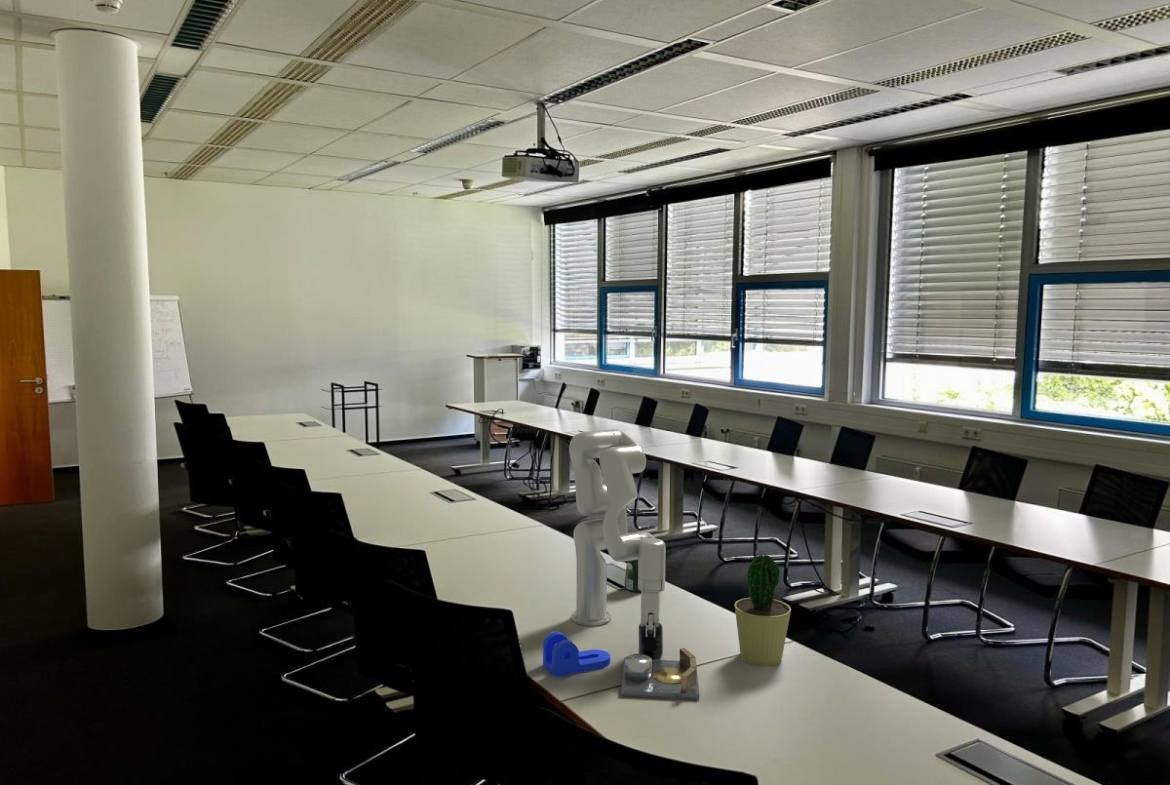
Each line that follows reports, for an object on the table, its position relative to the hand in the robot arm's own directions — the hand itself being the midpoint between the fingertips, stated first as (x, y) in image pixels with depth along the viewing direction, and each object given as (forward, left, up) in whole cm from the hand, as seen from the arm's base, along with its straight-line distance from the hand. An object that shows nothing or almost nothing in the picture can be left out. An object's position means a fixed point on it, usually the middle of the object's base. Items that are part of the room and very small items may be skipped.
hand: (650, 644), depth 228 cm
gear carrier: (+16, +2, -3) cm, 16 cm away
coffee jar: (-57, -5, -3) cm, 57 cm away
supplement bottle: (0, 0, -3) cm, 3 cm away
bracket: (+9, -19, -4) cm, 21 cm away
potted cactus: (-2, +31, -3) cm, 31 cm away
